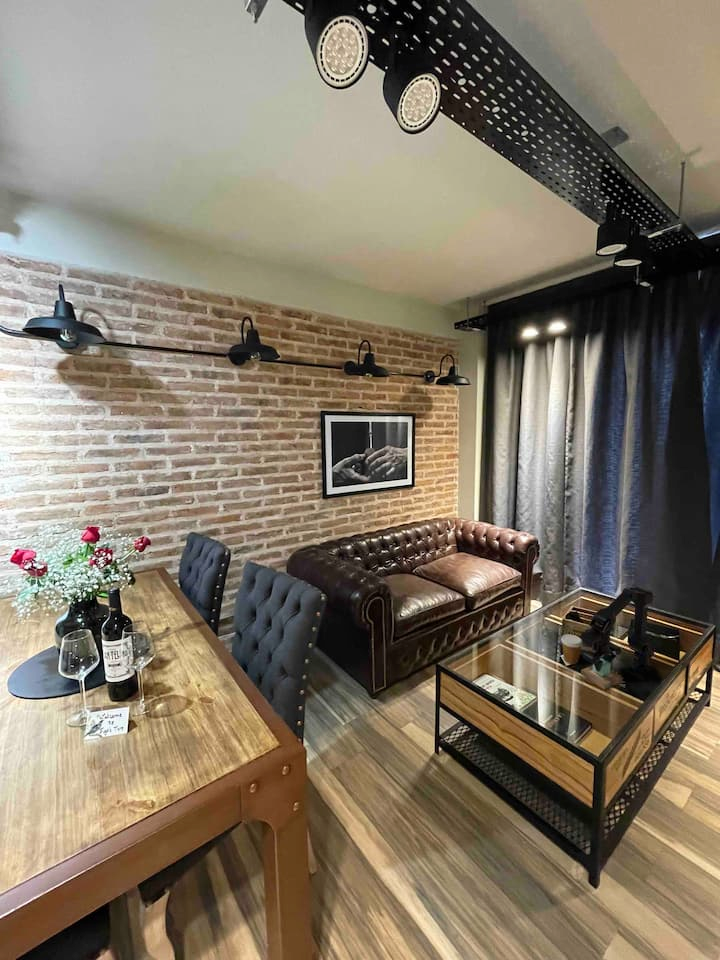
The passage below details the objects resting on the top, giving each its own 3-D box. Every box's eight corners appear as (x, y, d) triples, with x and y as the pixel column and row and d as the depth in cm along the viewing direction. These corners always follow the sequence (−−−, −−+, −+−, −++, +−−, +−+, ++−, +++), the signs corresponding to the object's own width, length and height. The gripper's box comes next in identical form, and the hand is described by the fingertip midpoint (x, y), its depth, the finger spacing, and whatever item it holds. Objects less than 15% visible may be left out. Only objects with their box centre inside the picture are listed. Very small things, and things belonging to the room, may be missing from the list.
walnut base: (598, 667, 197) (599, 662, 197) (622, 682, 186) (622, 677, 185) (580, 674, 193) (581, 669, 192) (604, 689, 182) (604, 684, 181)
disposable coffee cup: (584, 666, 198) (585, 644, 196) (563, 665, 200) (564, 643, 198) (578, 655, 207) (578, 634, 205) (558, 654, 209) (558, 633, 207)
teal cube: (600, 667, 192) (600, 657, 191) (610, 673, 187) (610, 663, 187) (592, 670, 190) (593, 660, 189) (602, 676, 186) (602, 666, 185)
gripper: (601, 626, 197) (600, 655, 199) (573, 635, 190) (572, 665, 193) (623, 637, 187) (621, 667, 189) (594, 647, 180) (593, 679, 182)
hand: (601, 669), depth 189 cm, fingers closed on teal cube, 5 cm apart
